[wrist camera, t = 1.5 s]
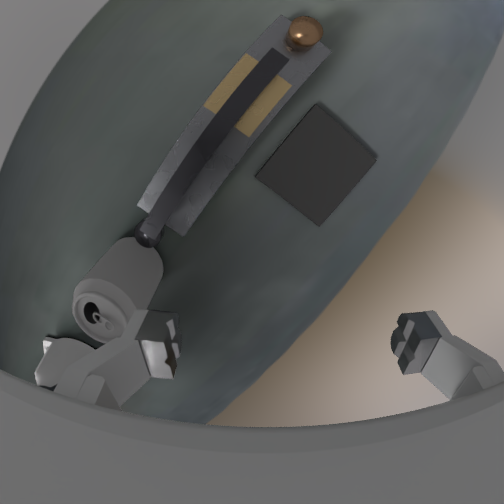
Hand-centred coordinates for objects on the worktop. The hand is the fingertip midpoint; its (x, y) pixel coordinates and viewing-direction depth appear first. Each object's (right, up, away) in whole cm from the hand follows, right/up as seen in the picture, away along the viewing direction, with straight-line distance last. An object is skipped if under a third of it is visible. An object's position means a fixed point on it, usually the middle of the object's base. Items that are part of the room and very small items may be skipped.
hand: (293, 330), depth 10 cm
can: (-16, +2, +24) cm, 29 cm away
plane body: (-4, +16, +17) cm, 24 cm away
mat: (+5, +12, +19) cm, 23 cm away
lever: (-5, +11, +12) cm, 17 cm away
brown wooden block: (-2, +17, +13) cm, 21 cm away
